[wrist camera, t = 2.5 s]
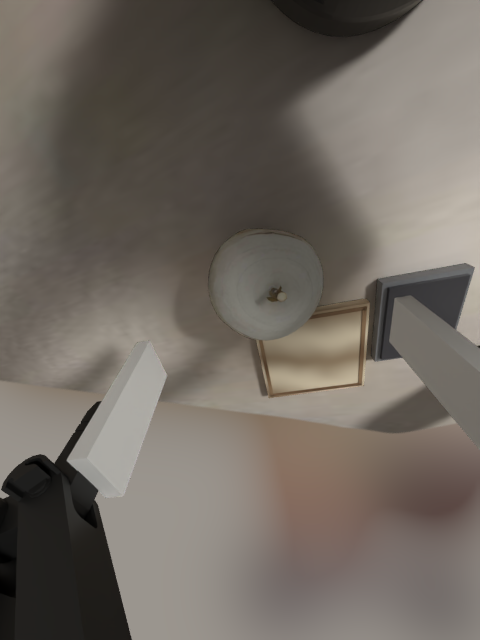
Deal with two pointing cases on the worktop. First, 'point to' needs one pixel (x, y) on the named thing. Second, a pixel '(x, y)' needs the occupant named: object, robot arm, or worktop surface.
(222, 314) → the decorative object
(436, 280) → the ink pad
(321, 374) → the board
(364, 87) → the worktop surface
